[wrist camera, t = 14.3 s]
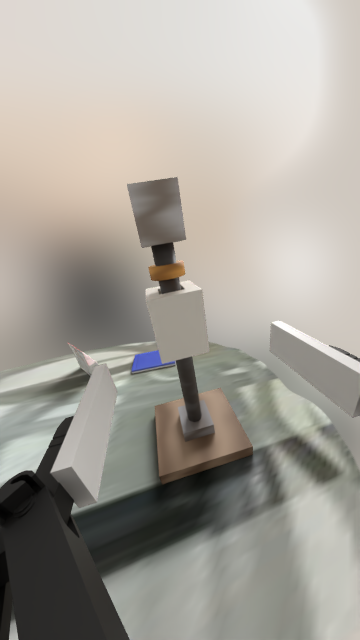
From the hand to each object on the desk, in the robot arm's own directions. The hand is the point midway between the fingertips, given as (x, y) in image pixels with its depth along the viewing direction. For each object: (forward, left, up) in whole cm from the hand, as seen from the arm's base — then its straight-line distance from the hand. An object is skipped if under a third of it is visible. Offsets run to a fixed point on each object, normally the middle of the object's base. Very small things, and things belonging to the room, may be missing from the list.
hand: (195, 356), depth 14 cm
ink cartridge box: (-26, +36, -23) cm, 50 cm away
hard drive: (-6, +34, -23) cm, 42 cm away
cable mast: (0, +10, -23) cm, 25 cm away
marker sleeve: (0, +10, -5) cm, 11 cm away
